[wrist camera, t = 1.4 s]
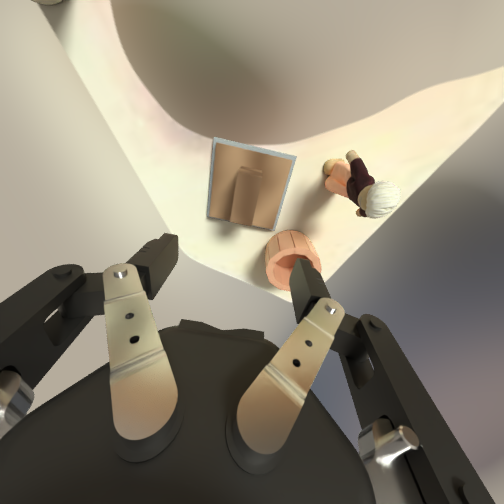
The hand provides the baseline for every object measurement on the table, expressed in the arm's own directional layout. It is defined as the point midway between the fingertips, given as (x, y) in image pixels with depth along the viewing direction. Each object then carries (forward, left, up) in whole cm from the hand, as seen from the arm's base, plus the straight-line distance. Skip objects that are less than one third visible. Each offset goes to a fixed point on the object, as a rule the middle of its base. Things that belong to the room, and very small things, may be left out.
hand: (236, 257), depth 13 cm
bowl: (+9, -9, -18) cm, 22 cm away
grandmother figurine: (+12, +4, -18) cm, 22 cm away
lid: (0, 0, -18) cm, 18 cm away
